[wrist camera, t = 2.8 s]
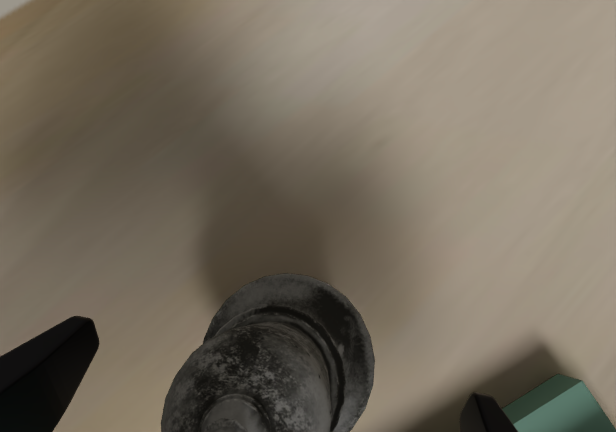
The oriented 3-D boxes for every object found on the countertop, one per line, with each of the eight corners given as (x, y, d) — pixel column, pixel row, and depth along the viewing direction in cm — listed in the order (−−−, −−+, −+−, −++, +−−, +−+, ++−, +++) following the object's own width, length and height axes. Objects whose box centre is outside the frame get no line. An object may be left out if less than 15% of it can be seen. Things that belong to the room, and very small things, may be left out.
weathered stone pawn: (209, 404, 16) (-119, 676, 4) (247, 266, 17) (80, 177, 5) (347, 443, 15) (421, 892, 4) (376, 298, 16) (500, 274, 5)
